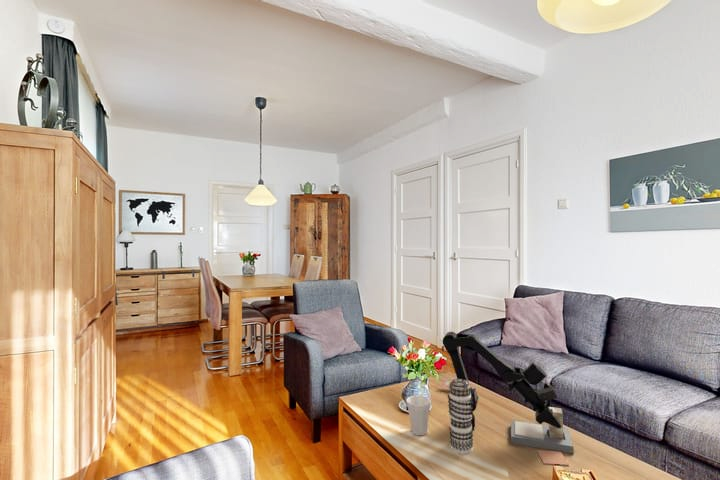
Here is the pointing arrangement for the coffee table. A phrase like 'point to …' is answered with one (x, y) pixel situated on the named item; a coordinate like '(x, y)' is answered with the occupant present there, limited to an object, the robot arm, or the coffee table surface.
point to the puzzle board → (539, 436)
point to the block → (558, 415)
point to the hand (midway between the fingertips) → (559, 424)
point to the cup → (418, 413)
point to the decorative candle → (460, 416)
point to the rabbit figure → (446, 384)
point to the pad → (552, 457)
